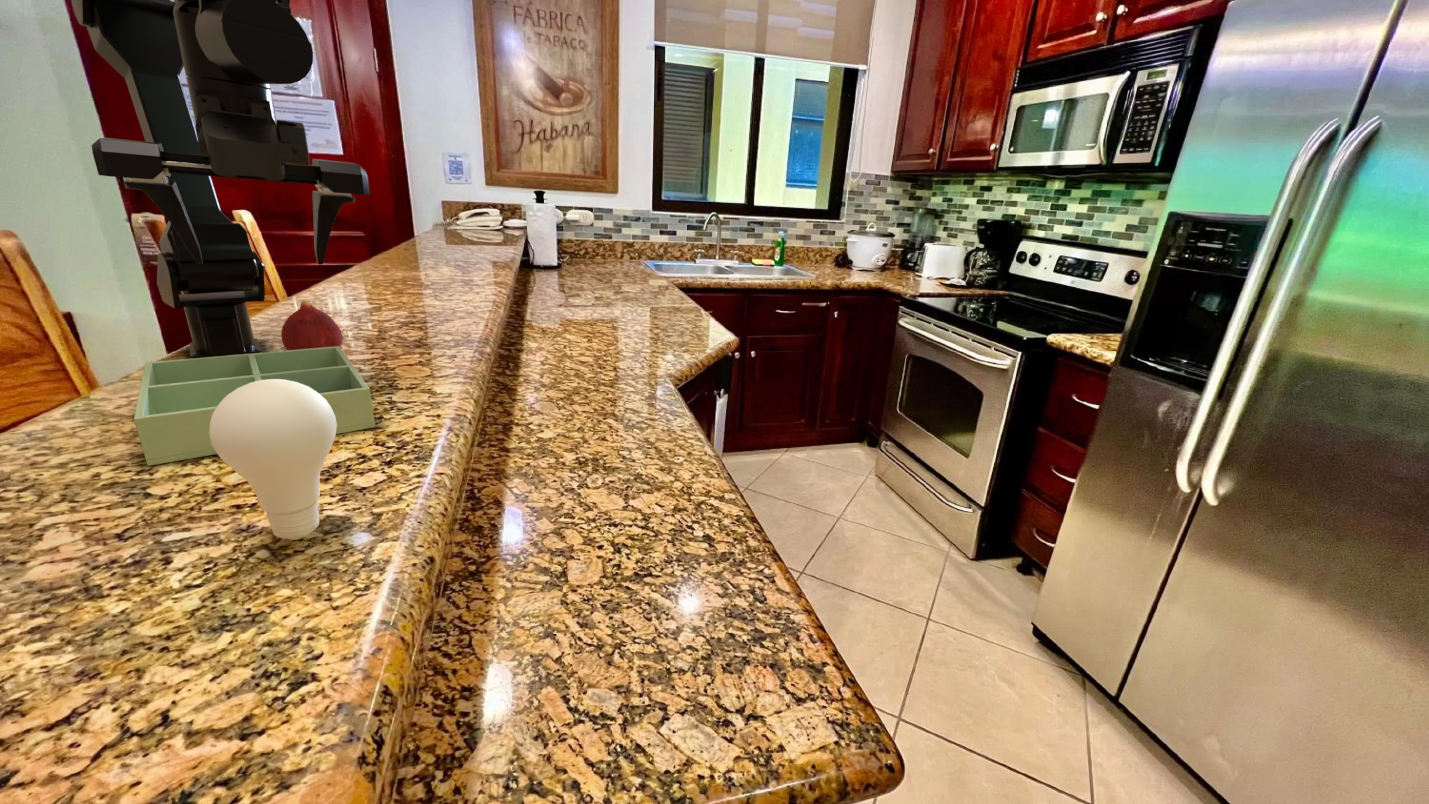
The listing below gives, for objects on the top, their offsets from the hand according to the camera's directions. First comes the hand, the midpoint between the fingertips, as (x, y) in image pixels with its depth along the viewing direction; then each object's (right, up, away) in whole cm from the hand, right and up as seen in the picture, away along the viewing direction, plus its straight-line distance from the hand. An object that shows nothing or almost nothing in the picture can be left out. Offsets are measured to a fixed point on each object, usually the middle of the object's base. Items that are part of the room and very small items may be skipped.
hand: (263, 263), depth 54 cm
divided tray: (+1, -15, -1) cm, 15 cm away
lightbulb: (+17, -23, -17) cm, 33 cm away
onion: (-4, -9, +13) cm, 16 cm away
